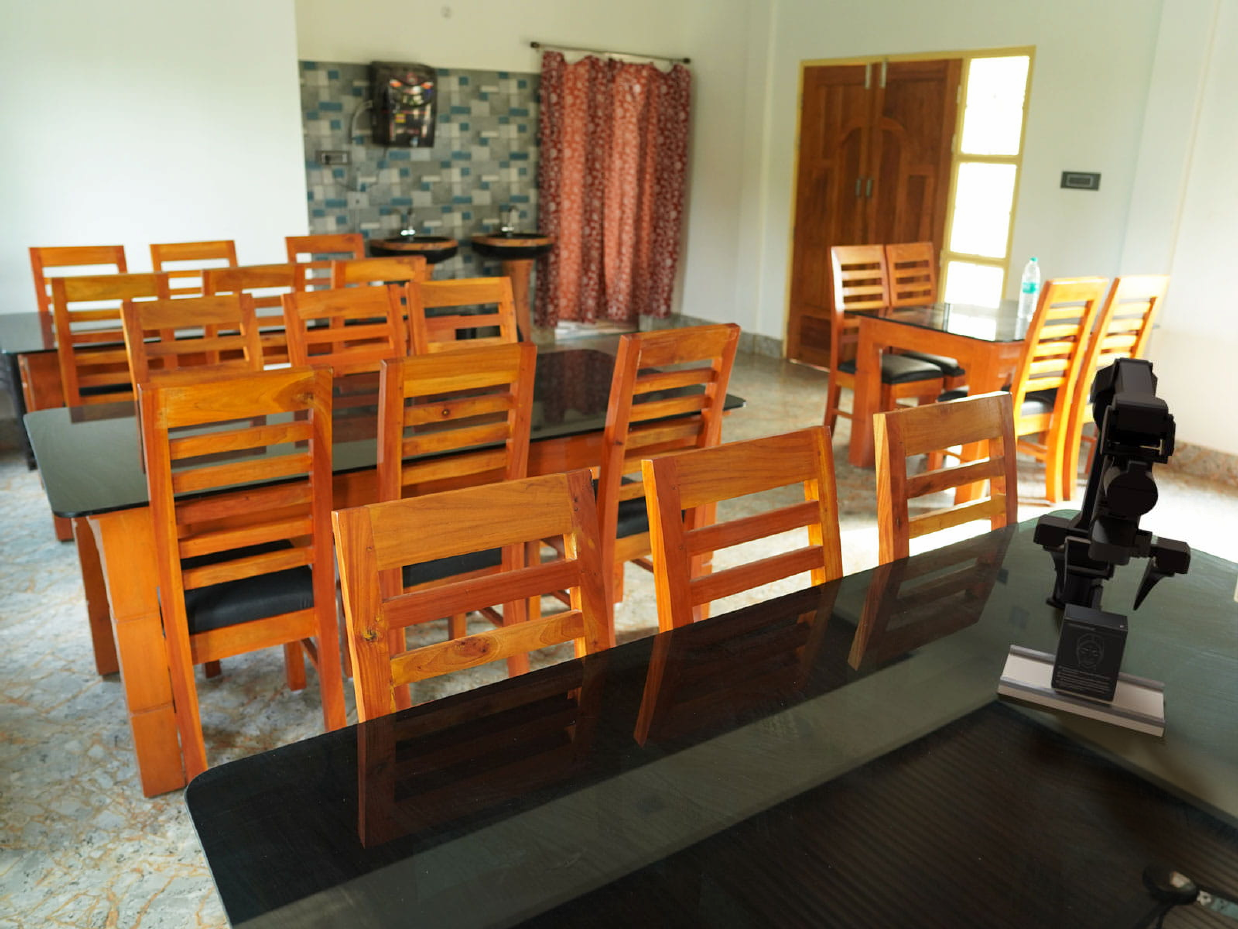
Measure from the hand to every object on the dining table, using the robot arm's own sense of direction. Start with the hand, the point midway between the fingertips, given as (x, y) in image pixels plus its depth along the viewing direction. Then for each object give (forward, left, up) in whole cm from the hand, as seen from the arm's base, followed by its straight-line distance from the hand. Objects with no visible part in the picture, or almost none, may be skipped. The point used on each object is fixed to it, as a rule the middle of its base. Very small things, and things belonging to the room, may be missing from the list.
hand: (1097, 601), depth 136 cm
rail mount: (+2, -3, -13) cm, 13 cm away
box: (+2, -3, -12) cm, 12 cm away
